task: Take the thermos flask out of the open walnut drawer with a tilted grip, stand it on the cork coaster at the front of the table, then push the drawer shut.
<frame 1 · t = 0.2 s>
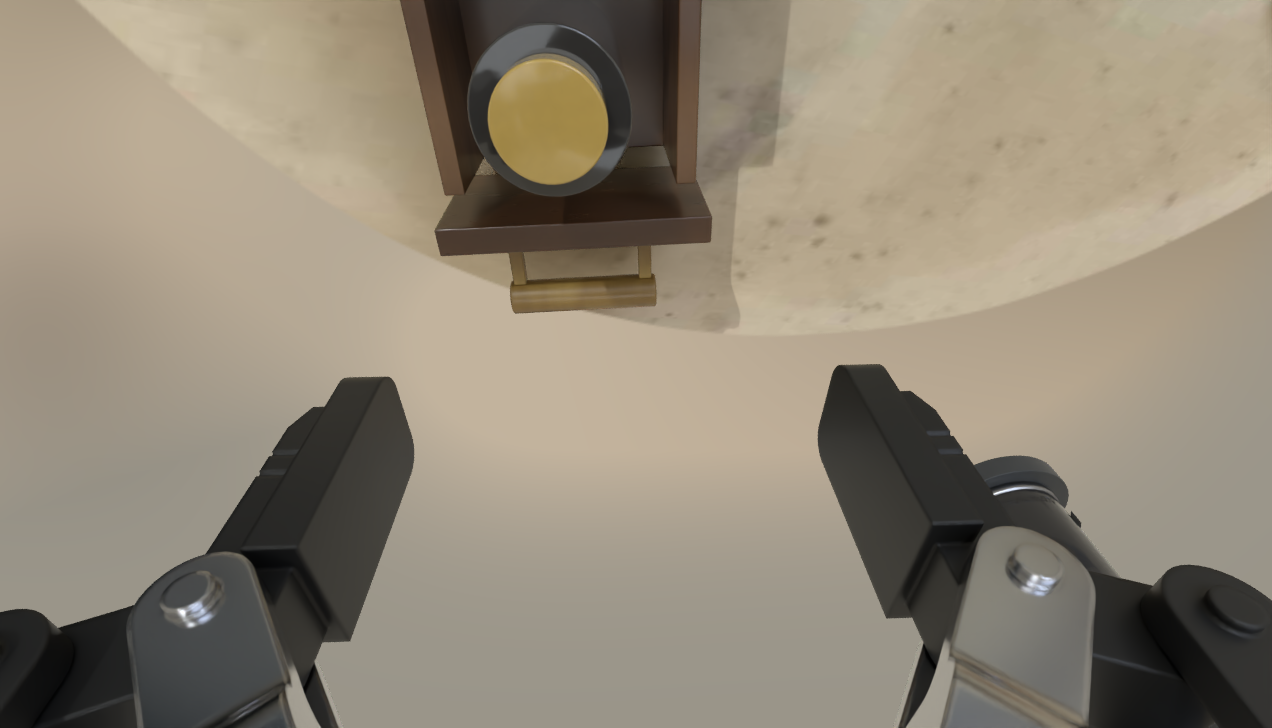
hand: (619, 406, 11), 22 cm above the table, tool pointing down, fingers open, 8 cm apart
thermos flask: (566, 55, 25), point 2 cm above the table, touching drawer
drawer: (568, 114, 24), point 4 cm above the table, slide at 10.0 cm, touching thermos flask
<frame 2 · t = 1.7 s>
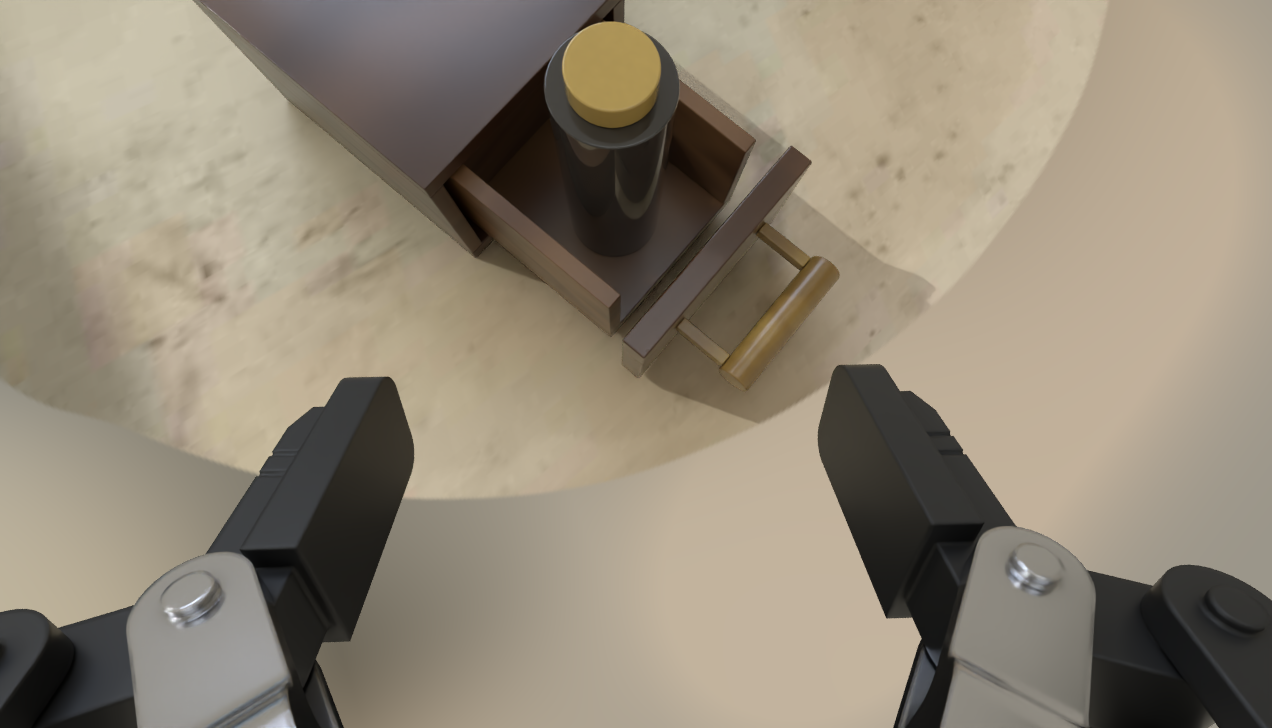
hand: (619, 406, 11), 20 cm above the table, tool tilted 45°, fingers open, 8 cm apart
thermos flask: (614, 215, 30), point 2 cm above the table, touching drawer
cabinet: (456, 99, 33), on the table
drawer: (644, 220, 28), point 4 cm above the table, slide at 10.0 cm, touching thermos flask
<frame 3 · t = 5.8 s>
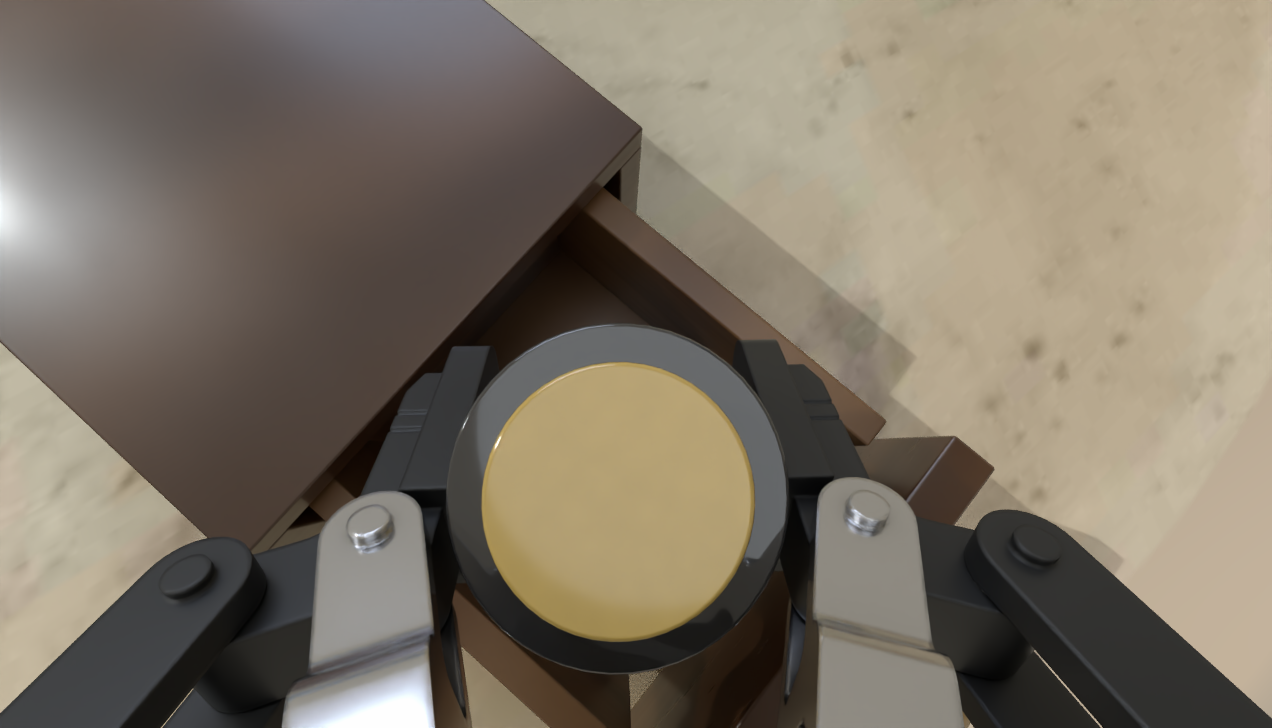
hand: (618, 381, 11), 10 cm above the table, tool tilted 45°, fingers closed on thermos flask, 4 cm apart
thermos flask: (619, 466, 19), point 2 cm above the table, touching drawer, gripper
cabinet: (373, 252, 21), on the table
drawer: (670, 514, 16), point 4 cm above the table, slide at 10.0 cm, touching thermos flask
when the fingers open (8 cm above the table, at t = 17.3 s): thermos flask stays where it is, resting on coaster.
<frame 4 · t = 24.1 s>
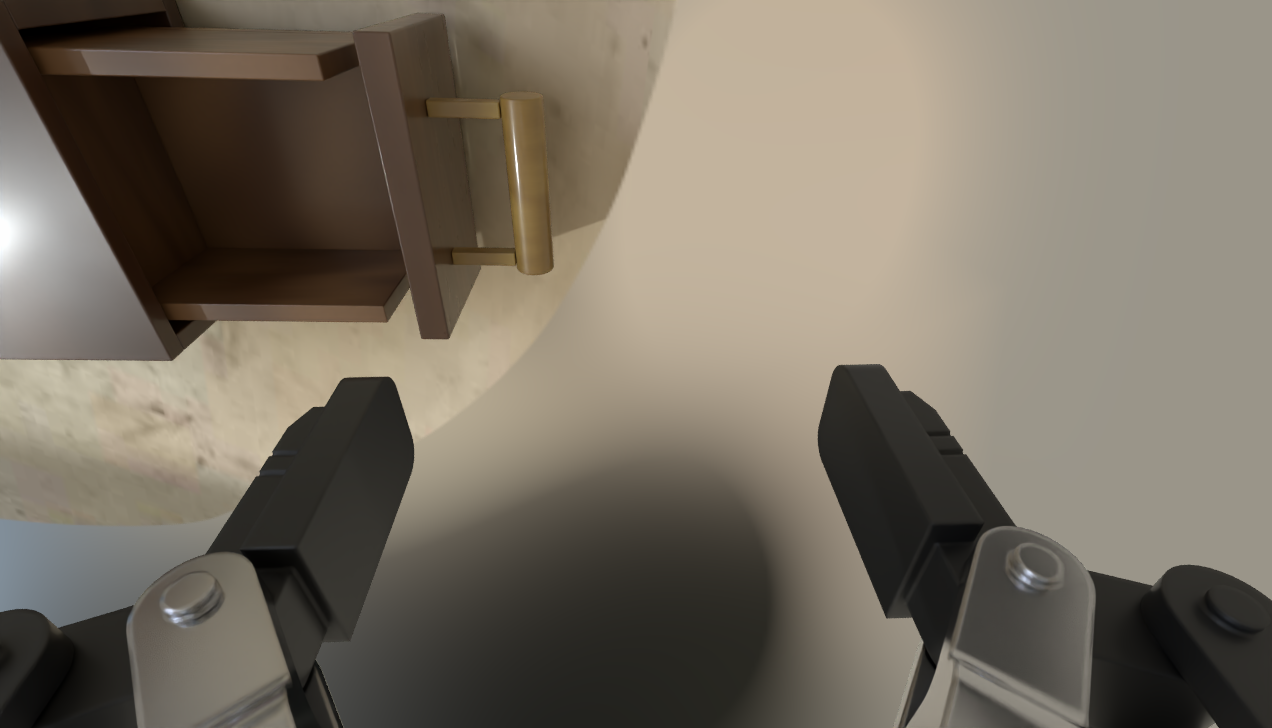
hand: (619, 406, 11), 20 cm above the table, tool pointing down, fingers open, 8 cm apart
cabinet: (70, 143, 27), on the table
drawer: (334, 178, 24), point 4 cm above the table, slide at 10.0 cm
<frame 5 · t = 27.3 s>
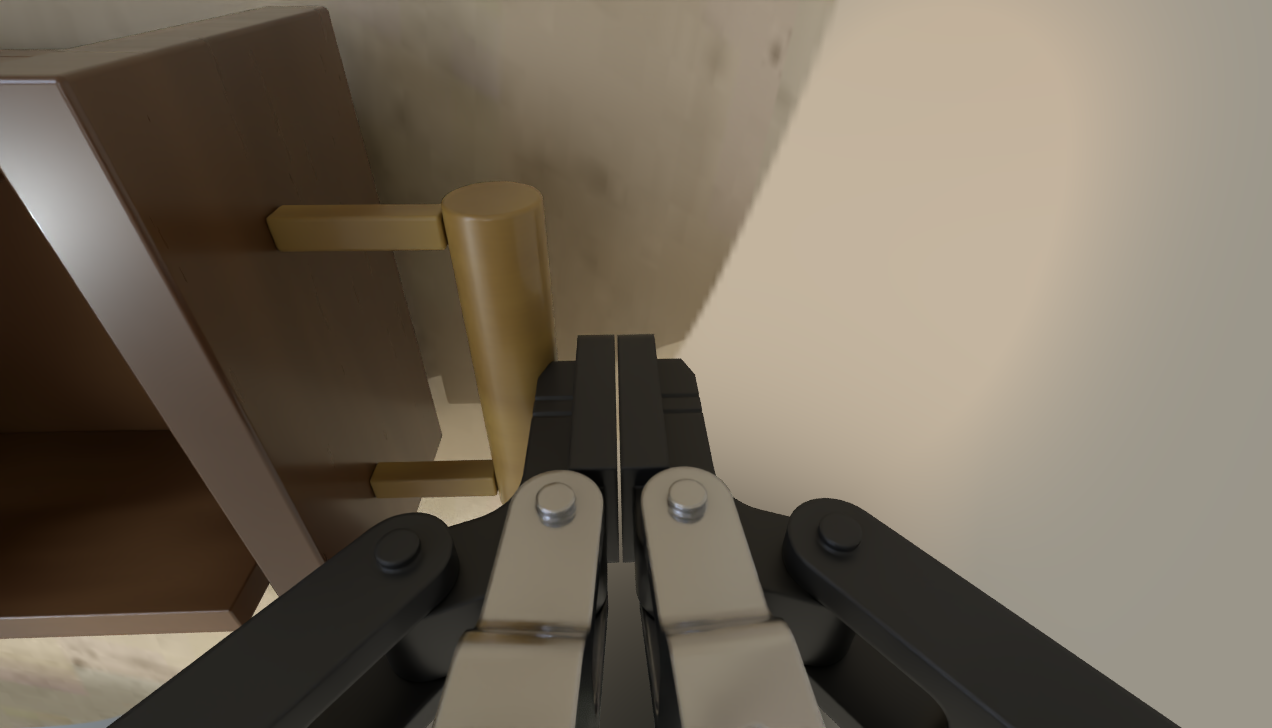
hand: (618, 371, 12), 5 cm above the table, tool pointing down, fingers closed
drawer: (120, 352, 12), point 4 cm above the table, slide at 9.1 cm
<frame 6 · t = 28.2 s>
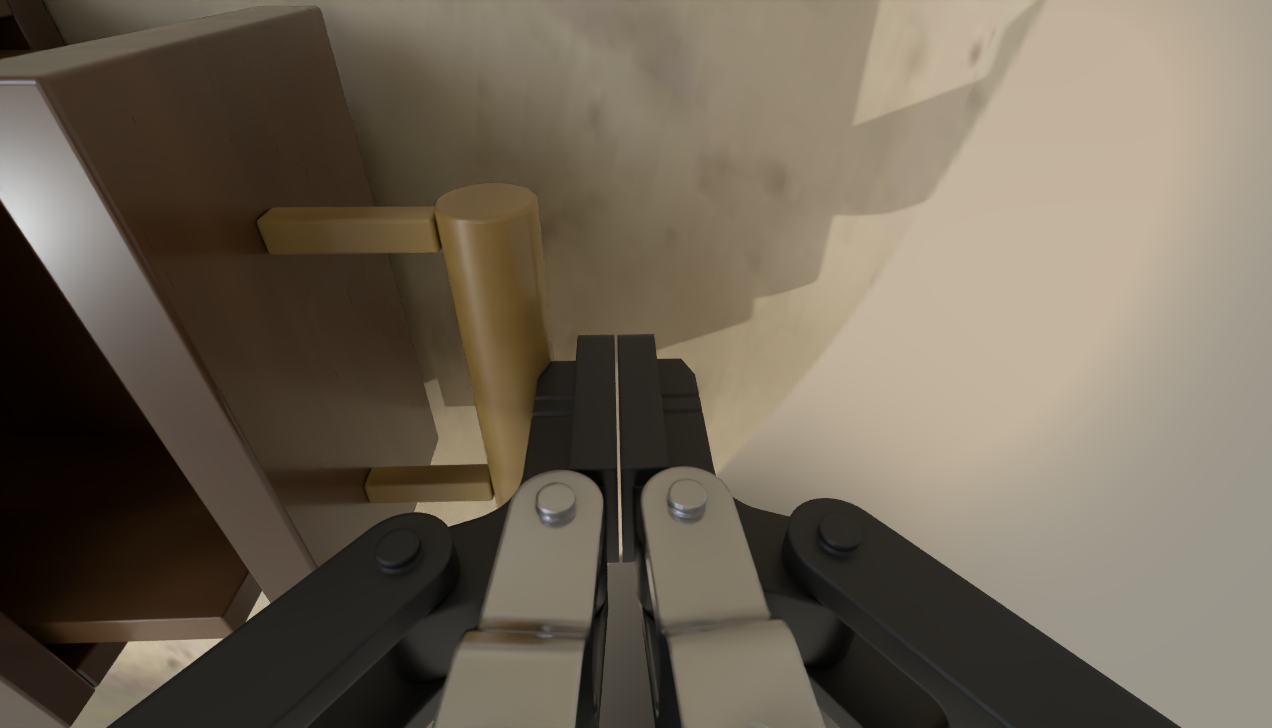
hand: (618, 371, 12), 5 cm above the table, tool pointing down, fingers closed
drawer: (110, 356, 11), point 4 cm above the table, slide at 4.6 cm, touching gripper
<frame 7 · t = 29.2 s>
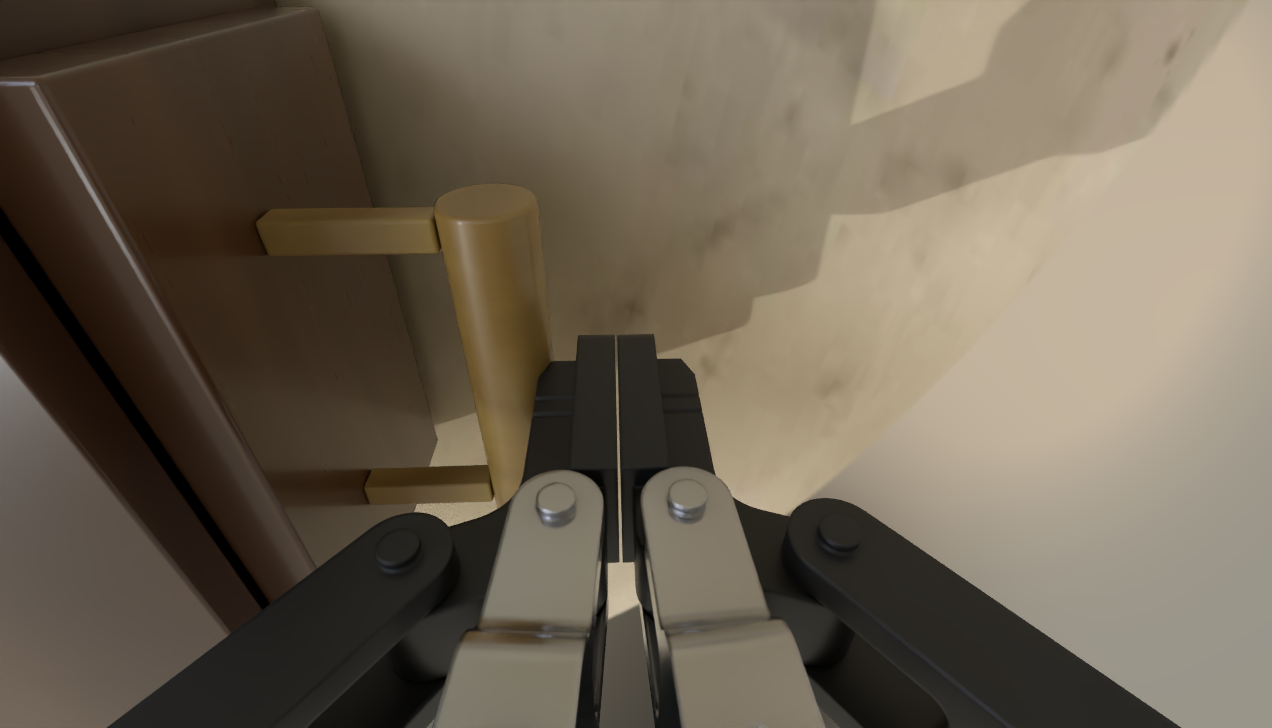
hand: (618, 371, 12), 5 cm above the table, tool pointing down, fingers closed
cabinet: (66, 263, 15), on the table
drawer: (108, 359, 11), point 4 cm above the table, slide at 0.0 cm, touching cabinet, gripper
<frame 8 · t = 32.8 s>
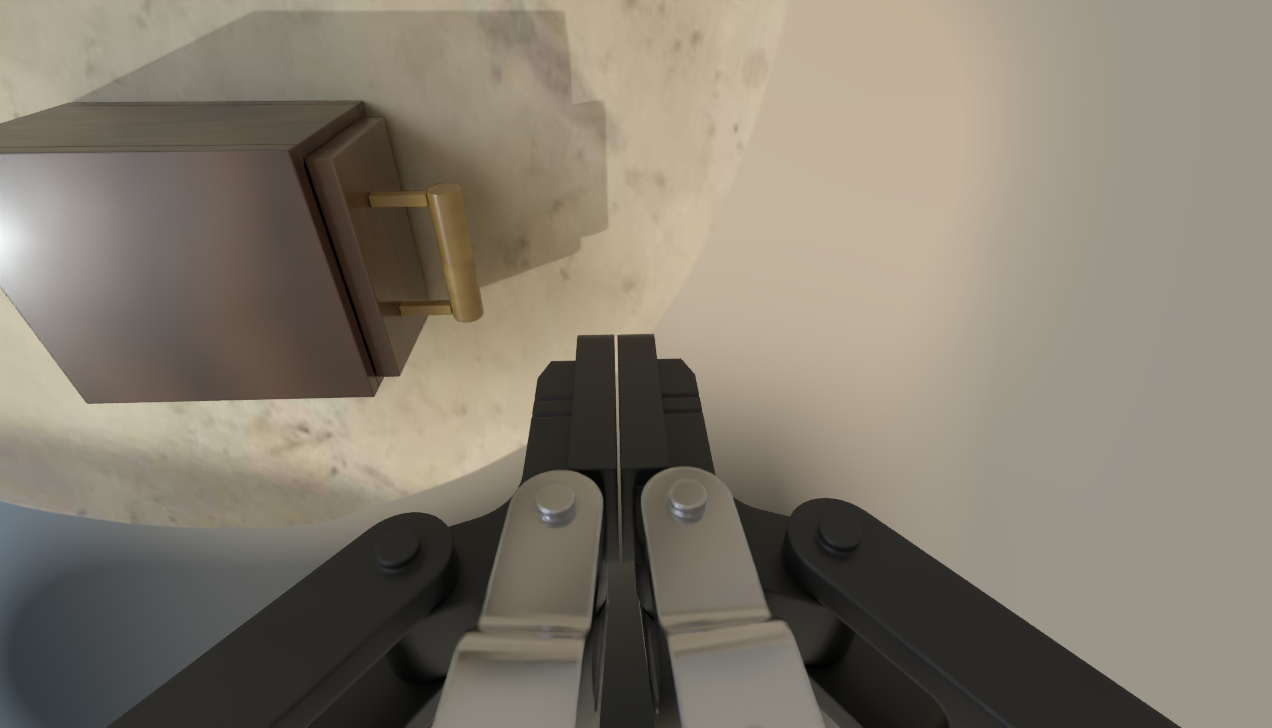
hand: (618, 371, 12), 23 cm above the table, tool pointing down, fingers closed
cabinet: (264, 219, 33), on the table
drawer: (301, 251, 30), point 4 cm above the table, slide at 0.0 cm
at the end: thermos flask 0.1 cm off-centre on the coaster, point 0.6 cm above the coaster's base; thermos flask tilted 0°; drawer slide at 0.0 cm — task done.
